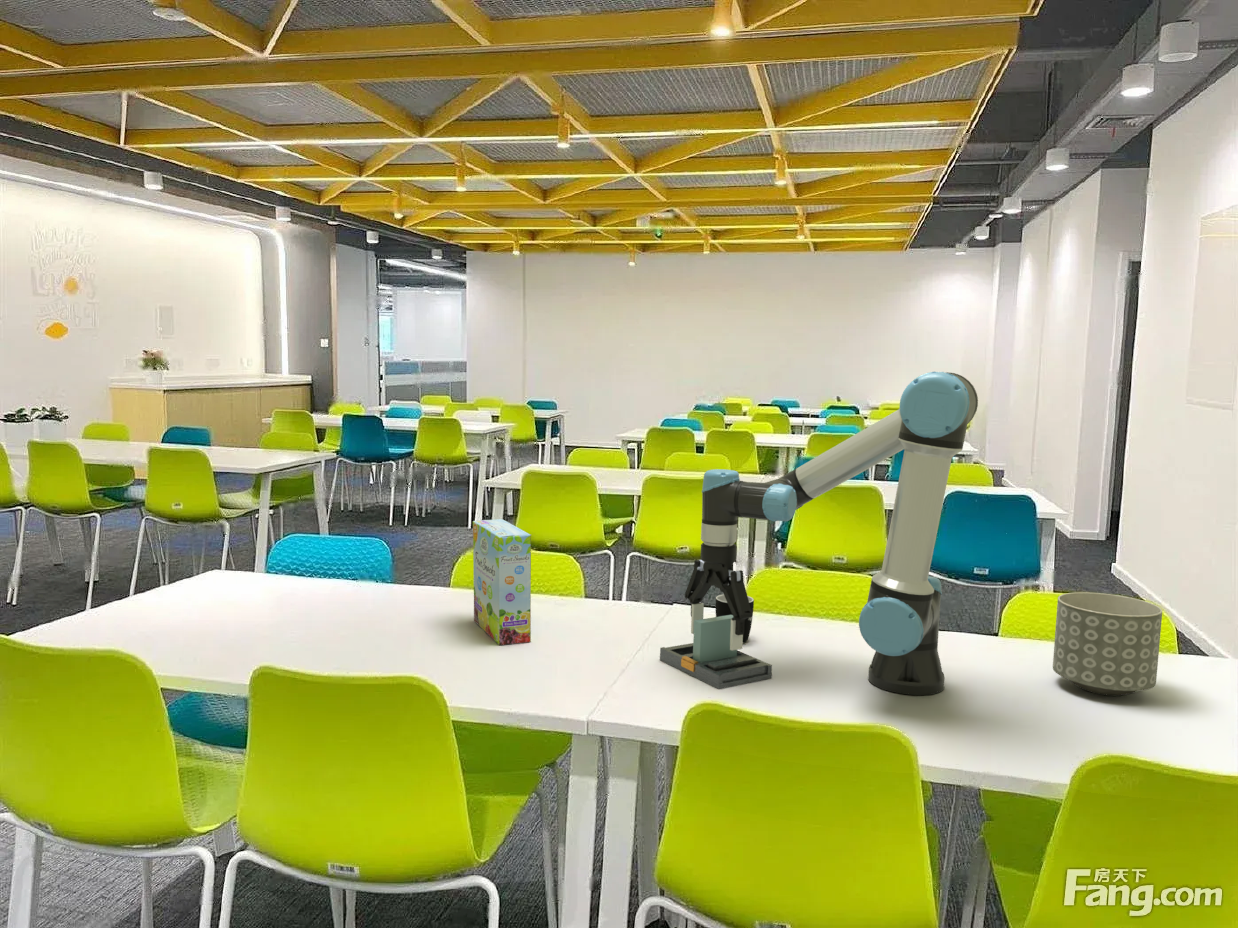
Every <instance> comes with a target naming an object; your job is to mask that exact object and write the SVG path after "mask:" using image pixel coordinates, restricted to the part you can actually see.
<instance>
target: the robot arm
mask: <svg viewBox="0 0 1238 928" xmlns="http://www.w3.org/2000/svg"><path fill="white" fill-rule="evenodd" d="M978 399H979V398H978V393H977V391H976V389H975V386H974V385H973V384H972V383H971V381H970V380H968V379H967V378H966V377H964V376H963V375H960V374H958V373H954V372H947V371H946V372H945V371H930V372H927V373H923V374H921V375H919V376H918V377H916V378H914V379H913V380H912V381H910V382H909V383H908V384H907V386H906V387H905V388H904V390H903V392H902V394H901V397H900V401H899V408H898V409H897V410H895V411H894V412H892V413H890V414H889V415H887V416H885V417H883V418H881V419H880V420H878V421H876V422H874V423H873V424H871V425H869V426H867V427H866V428H863V429H862V430H860V431H859V432H856V433H855V434H853V435H852V436H850V437H848V438H847V439H845V440H843V441H842V442H840V443H838V444H837V445H835V446H833V447H831V448H830V449H827V450H826V451H824V452H822V453H821V454H819V455H817V456H815V457H814V458H812V459H810V460H809V461H807V462H804V464H802V465H800V466H799V467H797V468H795V469H793V470H790V472H788V473H787V472H786V474H784V475H782V476H780V477H778V478H776V479H772V480H769V481H766V482H756V481H755V482H753V481H752V482H751V481H743V480H741V479H740V474H739V472H738V471H736V470H733V469H723V468H722V469H717V468H716V469H709V470H706V471H705V472H704V474H703V479H702V481H703V482H702V490H701V495H702V498H701V504H702V505H701V509H702V511H701V526H700V528H701V529H700V531H701V532H700V540H701V541H702V543H701V544H700V559H697V560H694V563H693V571H692V573H691V576H690V579H689V581H688V584H687V587H686V589H685V592H684V599H686V600H687V599H688V602H689V603H690V617H691V619H690V620H691V621H690V623H691V624H690V634H691V635H692V634H693V635H694V620H700V619H704V608H705V607H704V606H705V603H703V602H704V597H705V596H706V595H707V593H708V592H709V590H710V589H711V587H712V586H714V587H715V588H718V589H719V591H720V592H722V595H723V594H724V596H725V598H726V601H727V603H728V605H729V608H730V610H731V612H732V615H733V618H732V619H731V631H730V650H732V651H733V650H738V651H739V650H742V649H743V647H744V646H743V644H744V643H743V634H744V623H745V619H746V618H751V617H752V611H751V608H750V604H749V600H748V596H749V595H748V593H747V590H746V585H745V581H744V571H743V569H742V570H741V569H740V570H734V568H733V564H735V562H736V561H737V553H738V552H737V544H736V542H737V541H738V518H746V519H747V518H748V519H755V520H756V519H757V520H764V521H771V522H774V523H775V522H788V521H791V519H793V517H794V515H795V514H796V510H798V509H800V508H802V507H803V506H804V505H806V504H807V503H809V502H811V501H812V500H814V499H816V498H817V497H820V496H821V495H823V494H825V493H827V492H829V491H831V490H832V489H834V488H836V487H838V486H840V485H841V484H843V483H845V482H846V481H848V480H851V479H852V478H854V477H855V476H858V475H860V474H861V473H863V472H865V471H867V470H868V469H870V468H872V467H875V466H876V465H878V464H880V463H882V462H883V461H885V460H887V459H889V458H890V457H892V456H894V455H896V454H898V453H899V452H901V451H903V457H902V462H901V467H900V472H899V478H898V484H897V488H896V494H895V498H894V504H893V509H892V514H891V519H890V525H889V530H888V536H887V541H886V546H885V550H884V556H883V562H882V566H881V570H880V571H878V572H877V573H875V574H873V575H872V577H871V581H870V586H869V590H868V591H869V592H868V596H867V602H866V604H864V606H863V607H862V608H861V612H860V615H859V617H858V626H859V627H858V628H859V632H860V635H861V636H862V638H863V640H864V641H865V642H866V644H867V645H868V646H869V647H870V648H871V649H872V650H874V651H875V652H874V655H873V658H872V661H871V664H869V666H868V673H867V674H868V676H867V678H868V681H869V683H871V685H873V686H875V687H877V688H879V689H881V690H885V691H888V692H892V693H896V694H903V695H911V696H913V695H915V696H926V695H935V694H938V693H940V692H942V691H943V690H944V689H945V682H946V681H945V680H946V679H945V674H944V671H943V668H942V663H941V659H940V655H939V650H938V649H939V647H938V645H939V644H938V643H939V631H940V628H939V627H940V618H941V617H940V615H941V597H942V595H943V591H942V583H941V580H940V579H939V578H937V577H935V576H933V575H930V569H931V566H932V565H931V564H932V561H933V555H934V550H935V549H934V548H935V545H936V541H937V540H936V539H937V535H938V534H937V533H938V529H939V525H940V521H941V514H942V510H943V505H944V500H945V494H946V491H947V490H946V489H947V486H948V485H947V484H948V479H949V476H950V475H949V474H950V471H951V470H950V469H951V464H952V459H953V457H954V456H955V455H957V454H958V453H960V452H961V451H963V448H964V442H965V439H966V433H967V430H968V424H969V423H971V421H972V420H973V419H974V417H975V415H976V412H977V410H978V406H979V400H978ZM745 611H746V612H745ZM738 613H739V614H738ZM752 618H753V617H752Z"/></svg>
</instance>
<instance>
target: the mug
mask: <svg viewBox="0 0 1238 928" xmlns="http://www.w3.org/2000/svg"><path fill="white" fill-rule="evenodd" d="M747 596H748V600H749V604H750V608H751V611H752V617H751V618H746V619H745V623H744V634H743V644H745V643H746V642H748V639H749V636H750V634H751V630H752V623H753V616H754V615H753V614H754V609H755V608H754V605H755V603H754V602H755V601H754V600H755V599H754V598H753V597H751V596H749V595H747ZM745 612H746V611H745ZM738 614H739V613H738ZM726 615H732V612H731V610H730V608H729V605H728V603H727V601H726V598H725V596H724V594H723V593H722V594H719V595H717V596H716V597H715V617H720V616H726Z"/></svg>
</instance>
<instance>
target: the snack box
mask: <svg viewBox="0 0 1238 928" xmlns="http://www.w3.org/2000/svg"><path fill="white" fill-rule="evenodd" d="M472 544H473V545H472V547H473V549H472V551H473V552H472V553H473V622H475V623H476V624H477V625H478V626H479V627H480V628H481V629H482V630H483V631H484V632H485V633H486V634H487V635H488V636H489V637H490V638H491V639H492V640H494V642H496V644H497V645H498V646H507V645H509V646H510V645H516V644H524V643H532V641H531V640H532V639H531V637H532V636H531V634H532V633H531V632H532V630H531V629H532V628H531V627H532V626H531V621H532V620H531V619H532V617H531V613H532V610H531V609H532V608H531V606H532V605H531V603H532V601H531V598H532V594H531V591H532V589H531V587H532V586H531V583H532V582H531V580H532V578H531V577H532V575H531V571H532V569H531V568H532V567H531V566H532V565H531V564H532V561H531V560H532V558H531V557H532V556H531V555H532V554H531V553H532V548H531V547H532V534H530V533H528V532H526V531H525V530H523V529H521V528H520V527H517V526H516V525H514V524H512V523H511V522H509V521H506V520H504V519H503V518H498V519H497V518H496V519H481V520H473V521H472Z"/></svg>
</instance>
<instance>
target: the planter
mask: <svg viewBox="0 0 1238 928" xmlns="http://www.w3.org/2000/svg"><path fill="white" fill-rule="evenodd" d="M1055 619H1056V620H1055V621H1056V622H1055V632H1054V634H1055V635H1054V647H1053V659H1052V669H1053V672H1055V674H1056V675H1058V676H1060V677H1062V678H1063V679H1066V680H1068V681H1069V682H1071V683H1072V684H1073V685H1075V686H1077V687H1078V688H1080V689H1082V690H1084V691H1086V692H1089V693H1092V694H1095V695H1101V696H1108V697H1109V696H1111V697H1112V696H1113V697H1116V696H1117V697H1119V696H1125V695H1130V694H1133V693H1136V692H1141V691H1147V690H1151V689H1153V688H1154V687H1156V685H1157V677H1158V666H1159V655H1160V654H1159V652H1160V642H1161V641H1160V640H1161V632H1162V620H1163V609H1162V608H1161V607H1160V606H1158V605H1156V604H1155V603H1152V602H1149V601H1147V600H1142V599H1139V598H1135V597H1131V596H1125V595H1124V596H1123V595H1119V594H1109V593H1102V592H1101V593H1100V592H1086V591H1085V592H1083V591H1081V592H1078V591H1077V592H1068V593H1063V594H1060V595H1059V596H1058V597H1057V605H1056V618H1055Z"/></svg>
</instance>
